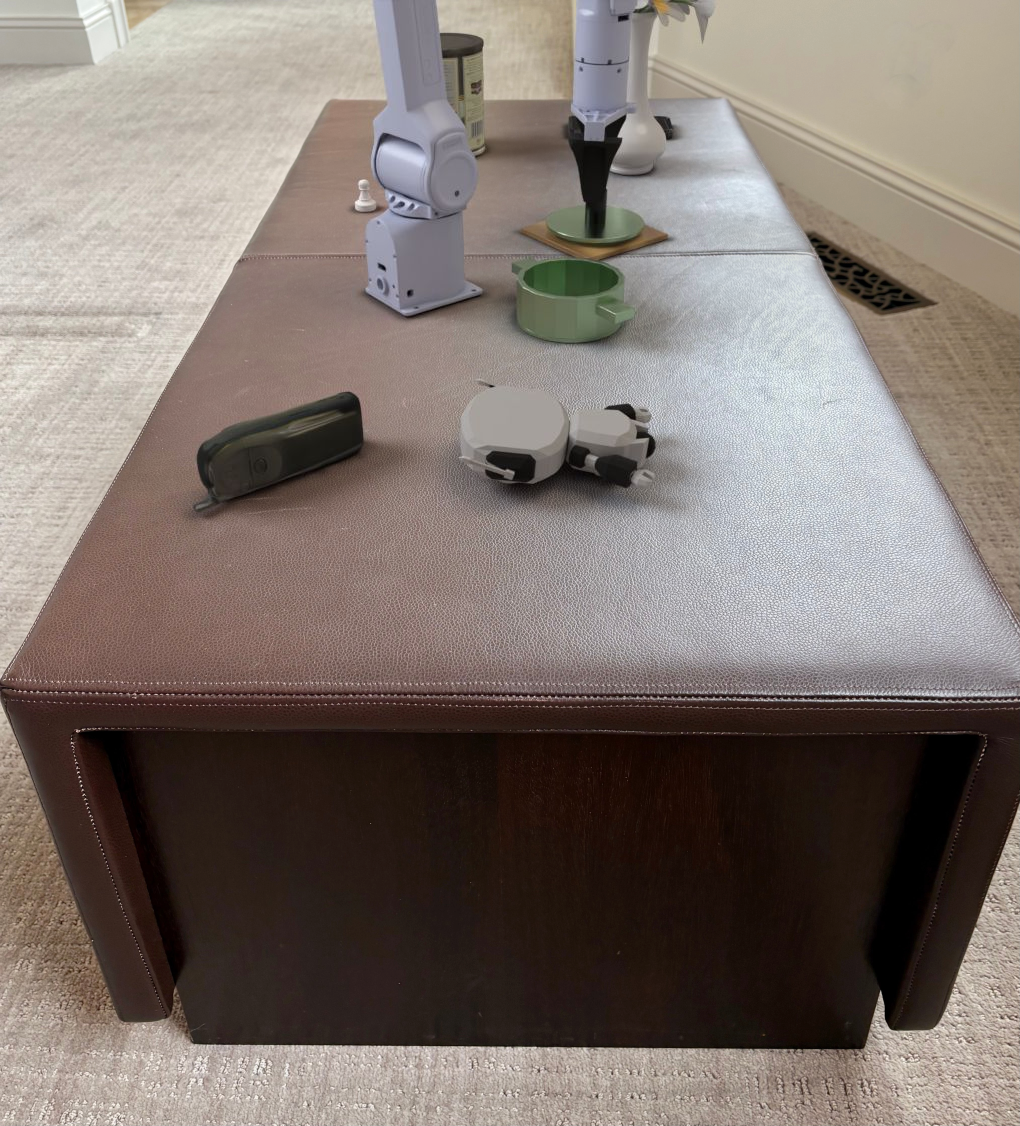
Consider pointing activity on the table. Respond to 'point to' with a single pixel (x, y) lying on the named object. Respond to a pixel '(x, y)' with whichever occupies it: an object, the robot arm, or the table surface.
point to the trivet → (593, 249)
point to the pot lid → (595, 223)
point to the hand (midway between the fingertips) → (595, 190)
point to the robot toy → (552, 438)
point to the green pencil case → (279, 447)
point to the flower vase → (641, 128)
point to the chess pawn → (364, 198)
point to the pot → (570, 299)
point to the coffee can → (465, 83)
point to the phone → (662, 120)
